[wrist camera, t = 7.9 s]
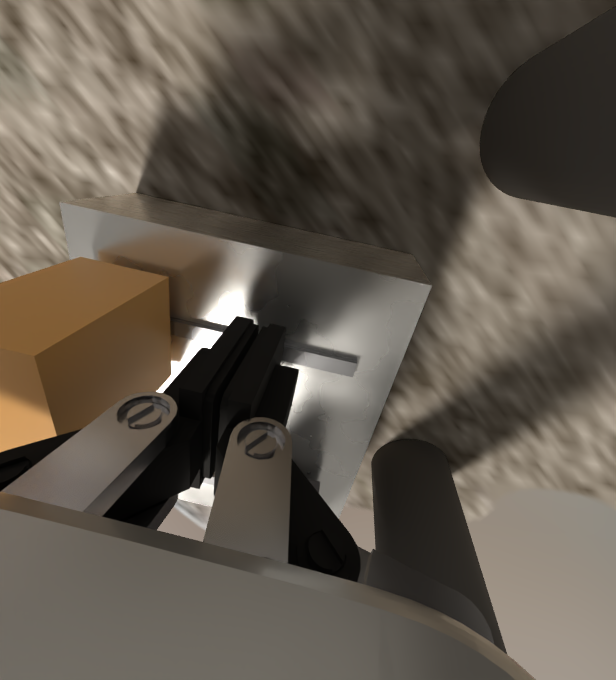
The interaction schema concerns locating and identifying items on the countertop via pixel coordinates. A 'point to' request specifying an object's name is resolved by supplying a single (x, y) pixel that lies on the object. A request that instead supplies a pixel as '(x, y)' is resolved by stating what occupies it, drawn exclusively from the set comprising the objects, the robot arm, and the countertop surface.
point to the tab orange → (78, 345)
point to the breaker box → (273, 312)
